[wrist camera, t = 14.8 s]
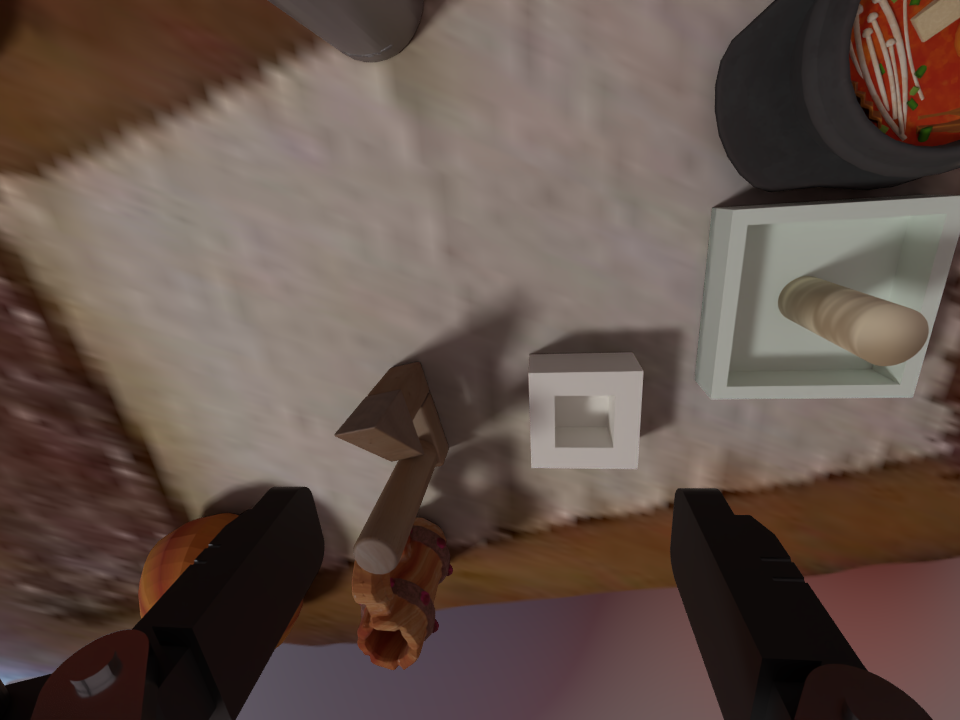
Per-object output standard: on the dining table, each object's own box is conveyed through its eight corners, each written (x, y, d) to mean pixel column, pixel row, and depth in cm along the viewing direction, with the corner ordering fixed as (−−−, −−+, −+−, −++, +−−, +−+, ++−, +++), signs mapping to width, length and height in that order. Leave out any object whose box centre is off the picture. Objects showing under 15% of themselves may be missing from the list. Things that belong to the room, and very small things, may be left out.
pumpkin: (304, 629, 64) (238, 751, 50) (176, 583, 64) (75, 692, 50) (332, 529, 57) (264, 639, 43) (188, 477, 57) (74, 570, 43)
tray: (712, 207, 39) (733, 209, 35) (921, 194, 37) (970, 195, 33) (694, 379, 44) (710, 399, 40) (875, 376, 42) (912, 397, 38)
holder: (529, 354, 46) (528, 373, 41) (632, 352, 44) (643, 371, 40) (532, 441, 49) (531, 467, 44) (628, 441, 48) (637, 469, 43)
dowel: (781, 277, 39) (865, 308, 29) (832, 274, 39) (936, 306, 28) (774, 321, 41) (852, 366, 30) (823, 320, 40) (919, 365, 30)
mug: (462, 566, 56) (436, 690, 42) (400, 569, 58) (355, 690, 44) (438, 466, 52) (400, 568, 38) (371, 471, 53) (311, 572, 39)
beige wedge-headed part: (420, 360, 47) (355, 453, 31) (450, 447, 51) (406, 575, 34) (388, 367, 48) (308, 462, 31) (419, 453, 51) (362, 580, 35)
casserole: (739, 243, 40) (788, 256, 32) (676, 16, 35) (716, -35, 27) (1093, 101, 33) (1262, 74, 26) (1078, -202, 28) (1282, -350, 21)
